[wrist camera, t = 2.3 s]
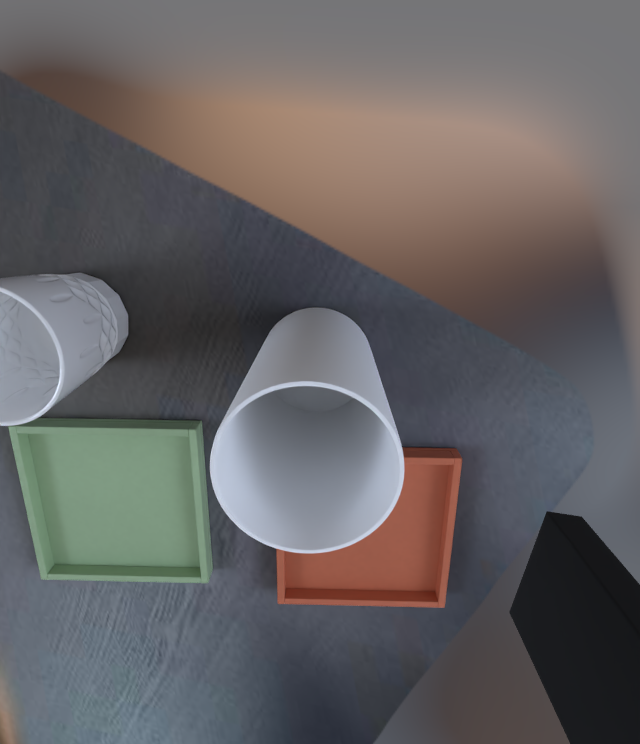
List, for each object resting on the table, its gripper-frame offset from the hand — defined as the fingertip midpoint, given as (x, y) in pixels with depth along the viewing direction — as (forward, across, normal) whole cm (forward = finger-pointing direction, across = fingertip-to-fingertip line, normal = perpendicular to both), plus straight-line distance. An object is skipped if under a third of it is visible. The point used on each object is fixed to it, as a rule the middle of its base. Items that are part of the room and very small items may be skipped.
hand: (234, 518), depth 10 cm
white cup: (+25, -16, -3) cm, 30 cm away
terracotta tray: (+25, +8, -17) cm, 31 cm away
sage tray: (+25, -12, -18) cm, 33 cm away
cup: (+25, +2, -4) cm, 25 cm away
